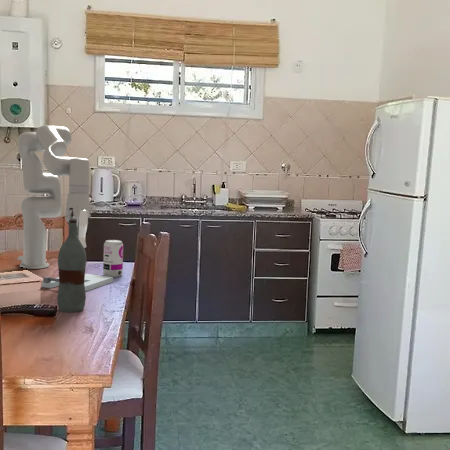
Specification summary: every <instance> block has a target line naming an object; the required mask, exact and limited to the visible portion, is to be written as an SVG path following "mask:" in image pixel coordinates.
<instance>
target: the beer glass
mask: <svg viewBox="0 0 450 450" xmlns="http://www.w3.org/2000/svg"><path fill="white" fill-rule="evenodd" d="M72 218H74V215H72ZM74 219H75V218H74ZM87 225H89V221H88V212H87V210H81V211H80V216H79V219H78V220H77V237H78V239H79V240H80V242H81V243H82V245H83V247H84V248H87V242H86V236H87V235H86V230H87V231H88V226H87Z"/></svg>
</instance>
